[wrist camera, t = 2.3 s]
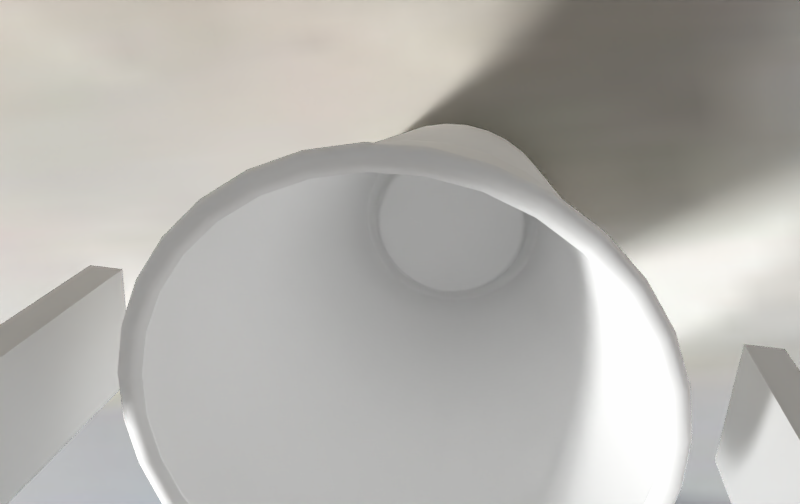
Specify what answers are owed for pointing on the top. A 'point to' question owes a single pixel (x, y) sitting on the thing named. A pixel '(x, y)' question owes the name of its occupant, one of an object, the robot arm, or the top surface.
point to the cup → (400, 339)
